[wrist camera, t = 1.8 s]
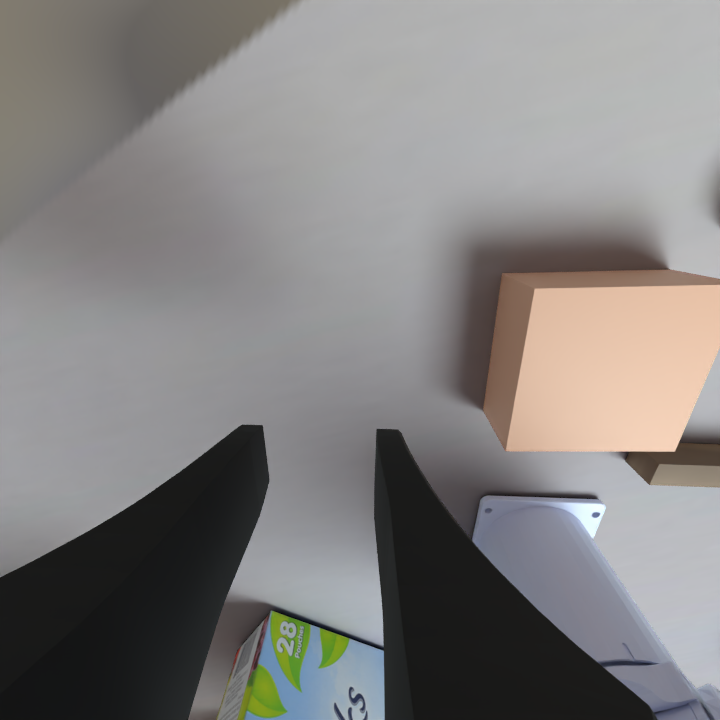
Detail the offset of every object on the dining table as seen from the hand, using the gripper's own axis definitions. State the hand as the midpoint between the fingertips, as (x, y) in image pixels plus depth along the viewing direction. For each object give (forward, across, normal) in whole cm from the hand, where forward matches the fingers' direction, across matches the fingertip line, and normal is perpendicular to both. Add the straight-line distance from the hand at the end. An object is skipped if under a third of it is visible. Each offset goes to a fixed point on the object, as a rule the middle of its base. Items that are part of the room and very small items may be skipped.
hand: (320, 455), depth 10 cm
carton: (+10, -12, 0) cm, 15 cm away
